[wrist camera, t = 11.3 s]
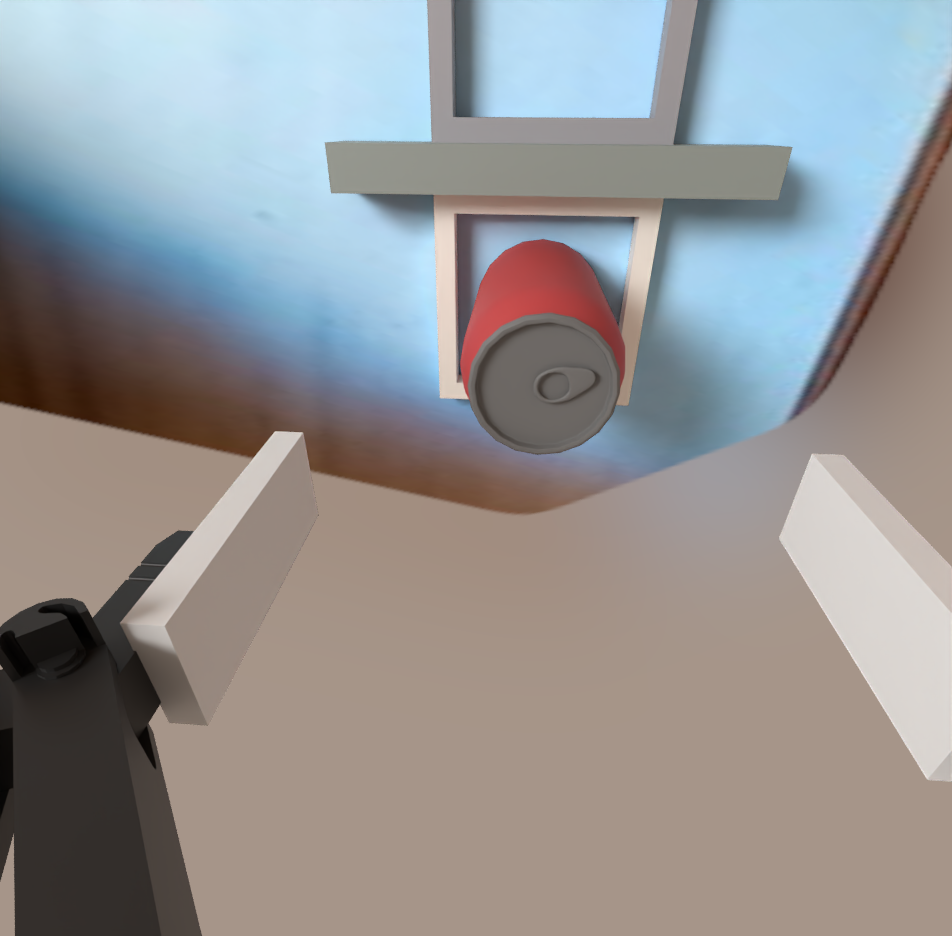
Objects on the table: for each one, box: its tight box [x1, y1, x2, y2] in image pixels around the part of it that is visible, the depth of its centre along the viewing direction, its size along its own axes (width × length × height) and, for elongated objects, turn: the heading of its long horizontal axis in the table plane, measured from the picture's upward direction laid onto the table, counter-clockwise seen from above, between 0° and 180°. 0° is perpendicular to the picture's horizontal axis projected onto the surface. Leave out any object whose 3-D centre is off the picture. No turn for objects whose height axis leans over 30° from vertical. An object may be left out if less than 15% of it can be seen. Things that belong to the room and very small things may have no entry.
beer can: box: [460, 239, 625, 455], centre depth 25 cm, size 7×7×12 cm
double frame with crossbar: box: [325, 0, 792, 406], centre depth 25 cm, size 20×24×3 cm
